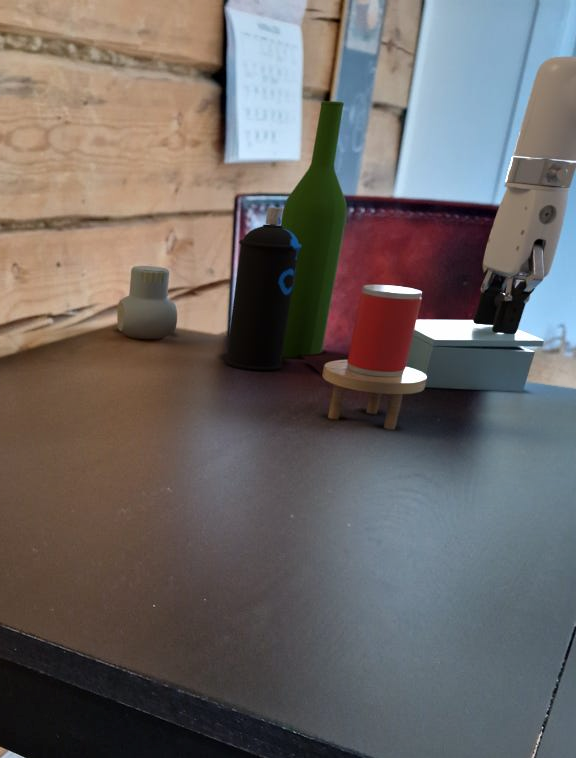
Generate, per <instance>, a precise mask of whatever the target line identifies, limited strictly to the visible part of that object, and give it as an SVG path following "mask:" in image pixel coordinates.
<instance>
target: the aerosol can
mask: <svg viewBox="0 0 576 758" xmlns="http://www.w3.org/2000/svg"><path fill="white" fill-rule="evenodd" d="M283 209H284V208H283V207H277V206H275V207H274V206H268V207H267V210H266V217H265V218H266V219H265V224H262V225H261V226H259V227H258V226H257V227H255V228H253V229H251V230H249V231H248V232H247V233H246V234H245V235H244V236H243V238H242V239H239V241H238V243H239V245H240V246H239V247H240V248H239V256H238V264H237V272H236V279H235V286H234V296H233V304H232V312H231V318H230V326H229V335H228V342H227V349H226V357H225V358H224V363H225V364H226V366H229V367H231V368H235V369H240V370H246V371H255V372H271V371H278V370H280V369H282V368H283V363H282V358H283V357H282V353H283V347H284V340H285V334H286V328H287V321H288V315H289V309H290V302H291V296H292V290H293V283H294V277H295V271H296V264H297V258H298V252H299V249H300V248H301V244H299V243H298V240H297V238H296V237H295V235H294V234H293V233H291V232H290V231H288V230H286V229H284V228H282V226H281V221H282V218H281V217H282V214H283Z"/></svg>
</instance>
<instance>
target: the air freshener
mask: <svg viewBox="0 0 576 758" xmlns="http://www.w3.org/2000/svg"><path fill="white" fill-rule="evenodd" d="M169 282H170V270H169V269H168V268H166V267H161V266H155V265H153V266H151V265H135V266H133V267H131V270H130V282H129V293H128V295H126V296H125V297H123V298H121V299H119V301H118V304H117V312H116V313H117V314H116V317H117V318H116V320H117V327H118V330H119V331H120V332H121V333H123V334H124V335H125V336H126V337H127V338H131V339H139V340H163V339H164V338H166V337H169V336H170V335H172V334H173V333H175V331H176V329H177V324H178V310H177V306H176V303H175V302H174V301H173V300H171V299H170V298H168V294H169V293H168V292H169V284H170V283H169Z"/></svg>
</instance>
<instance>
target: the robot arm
mask: <svg viewBox="0 0 576 758" xmlns="http://www.w3.org/2000/svg"><path fill="white" fill-rule="evenodd" d="M575 172H576V56H555V57H550V58H548V59H546V60H544V61H543V62H542V63H541V64H540V65H539V66H538V69H537V71H536V74H535V77H534V81H533V83H532V87H531V91H530V94H529V98H528V102H527V104H526V109H525V112H524V116H523V119H522V123H521V126H520V130H519V133H518V136H517V140H516V143H515V147H514V151H513V154H512V157H511V161H510V165H509V167H508V171H507V175H506V179H505V182H504V186H503V188H506V189H505V191H504V194H503V196H502V199H501V202H500V205H499V207H498V209H497V211H496V215H495V218H494V220H493V224H492V228H491V230H490V234H489V237H488V240H487V243H486V246H485V251H484V255H483V261H482V269H483V270H482V271H483V273H482V278H483V282H482V284H481V287H480V292H481V293H480V295H479V299H478V303H477V306H476V310H475V313H474V317H473V319H472V320H473V322H474V323H475V324H481V325H493V328H492V331H493V332H494V333H503V334H515V333H516V332H517V330H519V326H520V323H521V320H522V318H523V314H524V310H525V308H526V304H527V303H528V302H529V301H530V299H531V294H532V293H533V292H534V291H535V290H536V288H537V287H538V286H539V285H540V284H541V283H542V282H543V280H544V279H545V278H546V277H547V276H548V275H549V274H550V271H551V269H552V266H553V264H554V263H553V262H554V259H555V255H556V253H557V249H558V245H559V241H560V237H561V233H562V229H563V226H564V220H565V216H566V212H567V211H566V210H567V206H568V199H569V198H568V197H569V191H570V188H571V185H572V182H573V179H574V175H575ZM517 282H519V283H518V284H517V285H516V283H517ZM504 291H505V300H501V301H500V304H499V308H498V311H497V314H496V309H497V306H495V304H494V299H495V297H496V296H497V295H498V294H500V293H504ZM495 314H496V318H495ZM494 318H495V321H494ZM493 322H494V324H493Z"/></svg>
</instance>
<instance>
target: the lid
mask: <svg viewBox="0 0 576 758" xmlns="http://www.w3.org/2000/svg"><path fill="white" fill-rule="evenodd" d="M505 293H506V292H505ZM505 293H504V292H503V293H500V294H498V295H497V296H496V297H495V299H494V304H495V306H497V309H496V314H497V311H498V308H499V304H500V301H501V300H505ZM496 314H495V318H496ZM495 318H494V321H495ZM473 320H474V319H417V321H416V325H415V330H414V334H413V335H414V336H415V337H417V338H419V339H421V340H423V341H425V342H427V343H428V344H430V345H432V346H515V347H524V348H527V347H544V343H545V339H542V338H539V337H537V336H535V335H532V334H530V333H528V332H524V331H523V330H520V329H518V330H517V332H516V333H515V334H503V333H494V332H493V331H492V328H493V325H481V324H475V323H474V322H473ZM493 324H494V322H493Z"/></svg>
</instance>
